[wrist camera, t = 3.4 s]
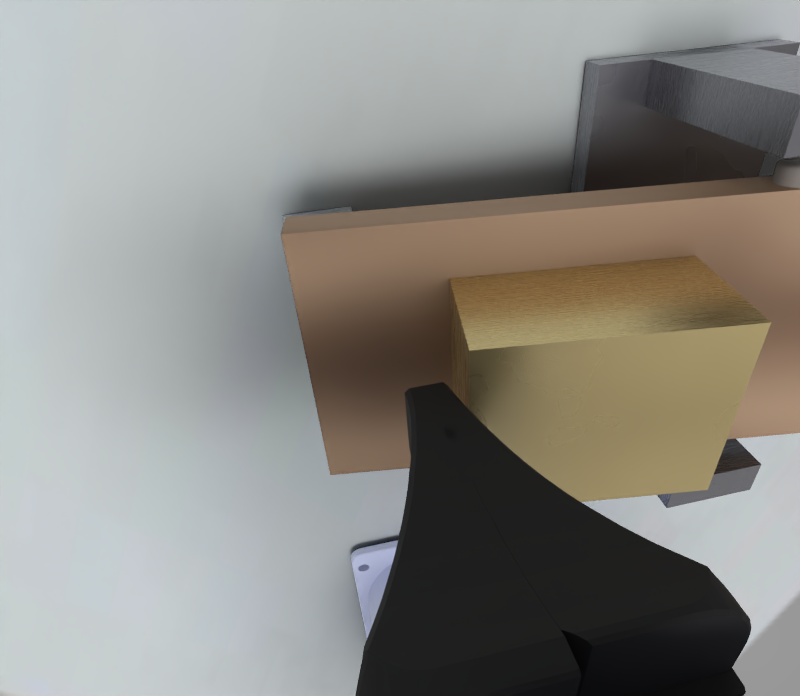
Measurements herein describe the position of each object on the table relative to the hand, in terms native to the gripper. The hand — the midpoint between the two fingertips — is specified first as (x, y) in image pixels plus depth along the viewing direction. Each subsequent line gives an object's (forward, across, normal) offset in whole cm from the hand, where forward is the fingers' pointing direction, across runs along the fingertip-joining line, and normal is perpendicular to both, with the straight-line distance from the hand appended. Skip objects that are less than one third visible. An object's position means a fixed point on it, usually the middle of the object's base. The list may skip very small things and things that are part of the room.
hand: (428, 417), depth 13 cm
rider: (+2, -4, 0) cm, 4 cm away
